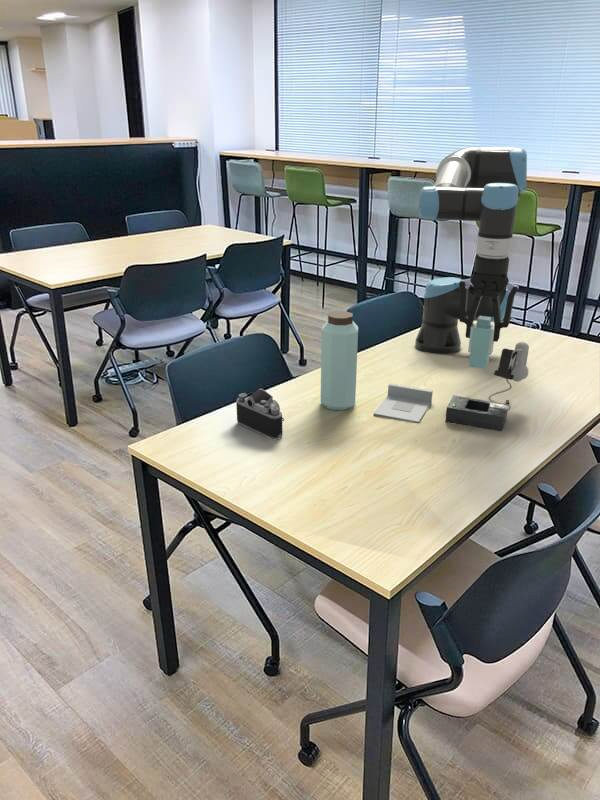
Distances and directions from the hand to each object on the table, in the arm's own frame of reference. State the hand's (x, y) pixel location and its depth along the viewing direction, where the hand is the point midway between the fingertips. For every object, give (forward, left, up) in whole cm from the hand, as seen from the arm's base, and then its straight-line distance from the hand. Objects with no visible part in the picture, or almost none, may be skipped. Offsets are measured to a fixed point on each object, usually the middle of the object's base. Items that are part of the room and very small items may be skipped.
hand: (480, 351), depth 154 cm
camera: (+23, -47, -19) cm, 56 cm away
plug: (0, 0, -3) cm, 3 cm away
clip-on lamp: (-12, +7, -19) cm, 23 cm away
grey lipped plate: (0, -18, -19) cm, 26 cm away
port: (0, +1, -19) cm, 19 cm away
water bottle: (+4, -35, -19) cm, 40 cm away
